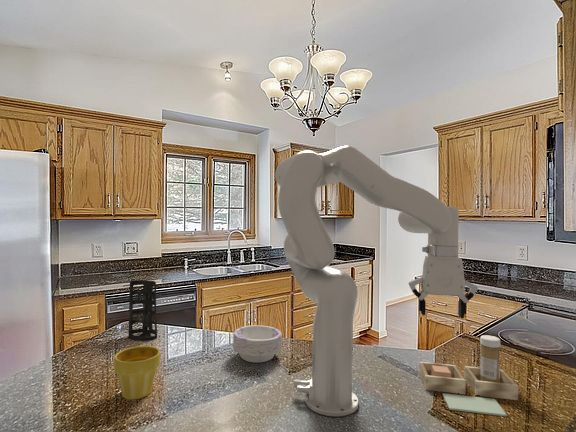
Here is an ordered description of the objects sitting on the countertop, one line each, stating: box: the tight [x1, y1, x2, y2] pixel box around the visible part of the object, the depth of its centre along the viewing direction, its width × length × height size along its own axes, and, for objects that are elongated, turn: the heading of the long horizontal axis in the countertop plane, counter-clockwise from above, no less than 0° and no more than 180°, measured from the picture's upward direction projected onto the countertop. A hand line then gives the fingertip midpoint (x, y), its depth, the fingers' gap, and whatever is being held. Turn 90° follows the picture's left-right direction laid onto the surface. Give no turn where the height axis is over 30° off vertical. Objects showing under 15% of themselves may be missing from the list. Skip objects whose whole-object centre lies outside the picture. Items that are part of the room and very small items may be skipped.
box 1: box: [418, 361, 467, 395], centre depth 93 cm, size 10×10×4 cm
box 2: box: [463, 365, 519, 401], centre depth 91 cm, size 10×10×4 cm
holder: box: [128, 279, 158, 341], centre depth 125 cm, size 11×8×20 cm
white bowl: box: [232, 324, 283, 364], centre depth 109 cm, size 15×15×8 cm
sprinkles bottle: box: [479, 334, 501, 383], centre depth 91 cm, size 5×5×13 cm
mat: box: [442, 392, 508, 417], centre depth 83 cm, size 12×7×1 cm, turn 78°
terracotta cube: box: [431, 365, 451, 378], centre depth 93 cm, size 4×4×4 cm
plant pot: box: [113, 345, 161, 401], centre depth 85 cm, size 10×10×10 cm
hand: (441, 315), depth 94 cm, fingers open, 9 cm apart
